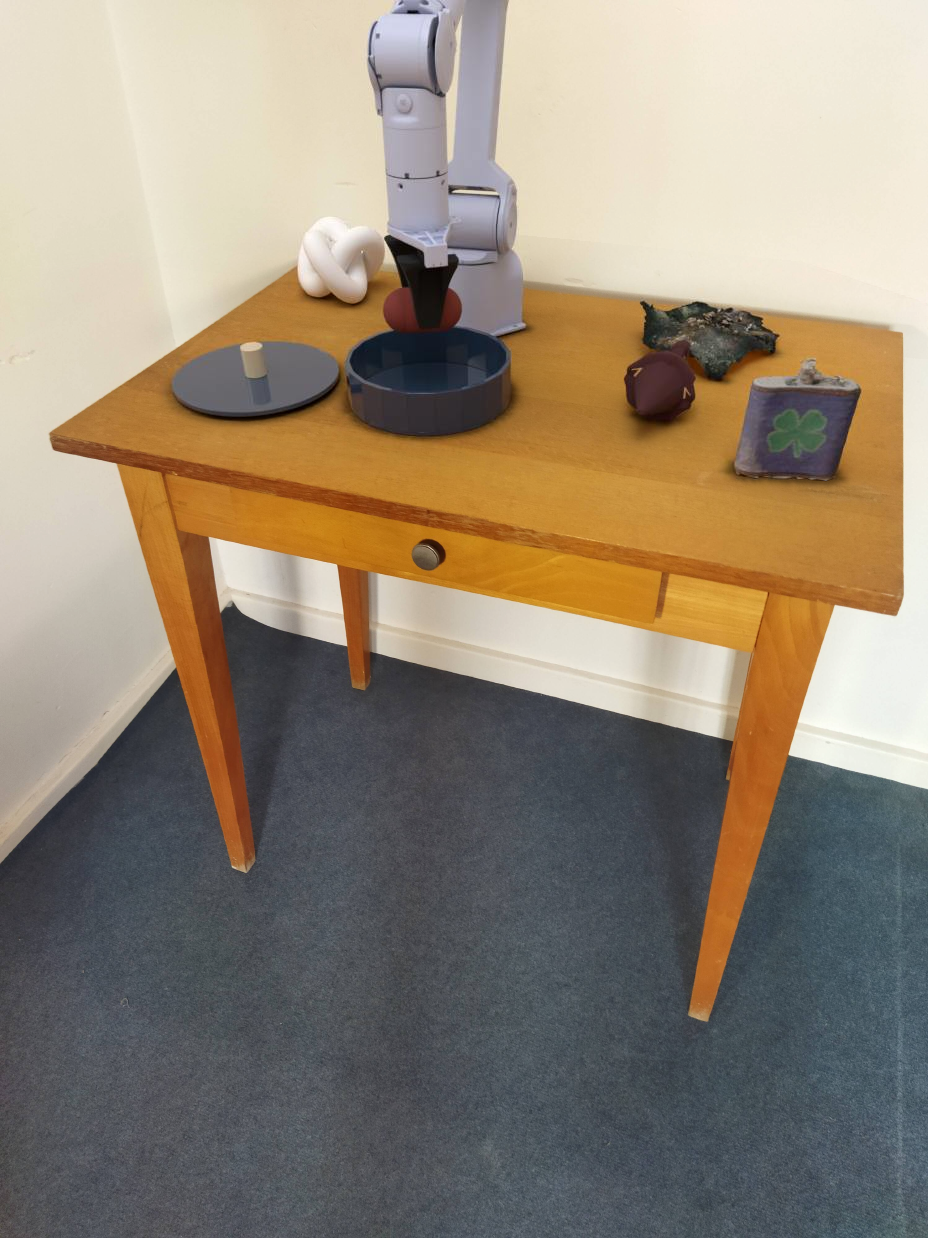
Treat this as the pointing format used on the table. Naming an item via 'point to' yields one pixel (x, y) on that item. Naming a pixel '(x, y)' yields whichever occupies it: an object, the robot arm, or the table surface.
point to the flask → (796, 425)
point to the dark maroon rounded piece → (661, 383)
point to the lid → (255, 378)
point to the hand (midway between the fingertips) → (423, 317)
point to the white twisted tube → (339, 259)
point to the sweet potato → (403, 315)
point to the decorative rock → (708, 334)
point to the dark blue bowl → (429, 380)
